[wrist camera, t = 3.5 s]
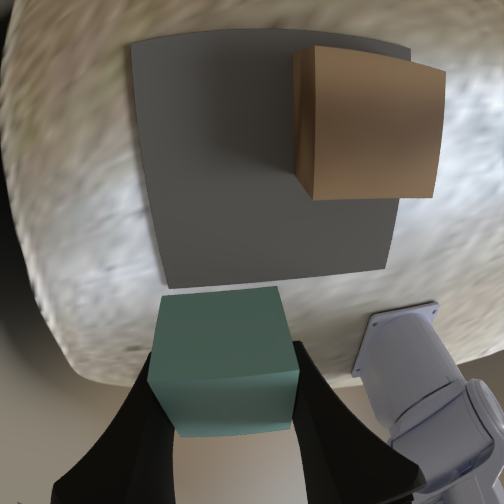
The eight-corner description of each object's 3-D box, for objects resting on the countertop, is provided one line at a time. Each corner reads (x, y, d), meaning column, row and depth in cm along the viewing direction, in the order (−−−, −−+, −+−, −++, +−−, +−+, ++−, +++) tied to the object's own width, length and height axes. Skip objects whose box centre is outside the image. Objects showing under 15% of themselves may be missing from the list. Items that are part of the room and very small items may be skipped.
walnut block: (397, 174, 17) (432, 198, 14) (293, 174, 17) (312, 200, 13) (404, 68, 13) (445, 71, 10) (292, 54, 13) (314, 45, 10)
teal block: (275, 357, 14) (289, 428, 10) (183, 364, 14) (180, 437, 10) (277, 285, 11) (299, 369, 8) (162, 295, 11) (147, 380, 8)
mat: (382, 265, 21) (384, 268, 21) (169, 285, 20) (169, 289, 20) (407, 48, 13) (410, 48, 13) (132, 44, 12) (130, 43, 12)
